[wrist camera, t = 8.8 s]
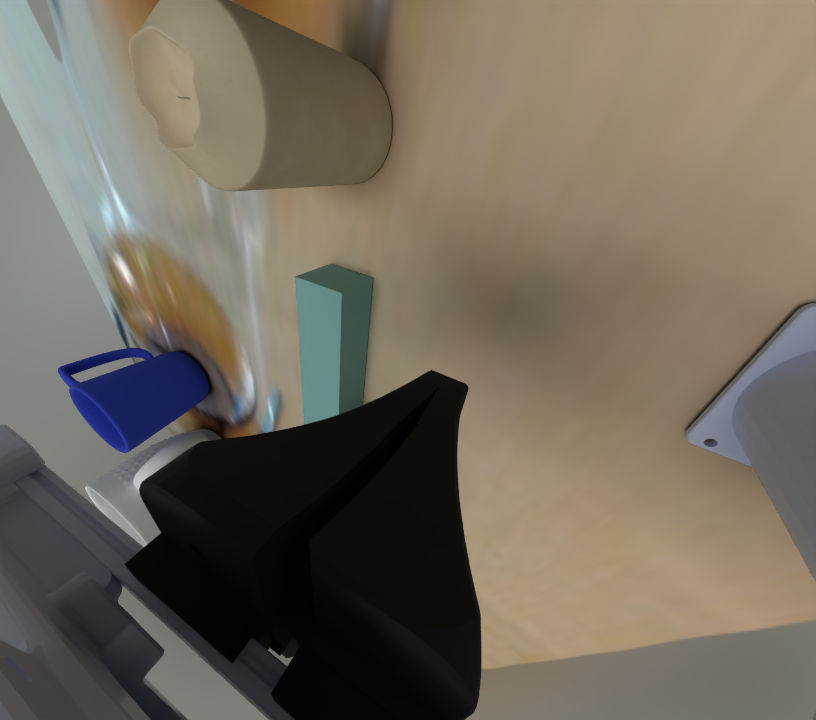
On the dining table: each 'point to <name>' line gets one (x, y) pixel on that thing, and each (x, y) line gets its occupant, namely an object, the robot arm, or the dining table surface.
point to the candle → (257, 99)
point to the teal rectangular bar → (332, 339)
